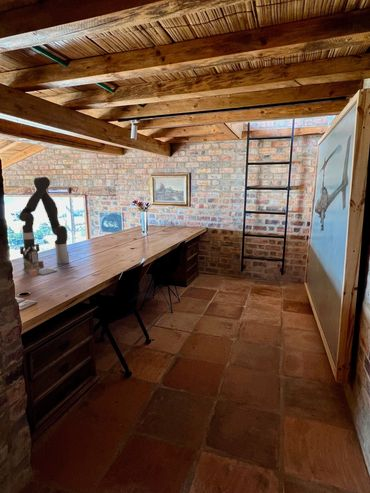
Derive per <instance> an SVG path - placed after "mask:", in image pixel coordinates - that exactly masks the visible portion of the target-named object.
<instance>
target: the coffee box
mask: <svg viewBox="0 0 370 493" xmlns="http://www.w3.org/2000/svg"><path fill="white" fill-rule="evenodd" d="M38 253H39V251H37V250H32V251H28V252H27V253H26V256H27V259H24V257H23V256H22V259H23V263H24V264H23V269H24V268H25V269H24V271H25V272H29V270H33V269H35V270H37V271H39V270H40V268H39V261H38V260H39V254H38Z"/></svg>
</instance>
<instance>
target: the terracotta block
mask: <svg viewBox="0 0 370 493" xmlns="http://www.w3.org/2000/svg"><path fill="white" fill-rule="evenodd" d="M37 271H38V270H35V269H33V270H29V271H28V274H29V276H31V277H34V276H38V275H39V274H38V273H37Z"/></svg>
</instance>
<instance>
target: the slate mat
mask: <svg viewBox="0 0 370 493" xmlns="http://www.w3.org/2000/svg"><path fill="white" fill-rule="evenodd" d="M57 272H58V270H55V269H52V268H44V269H43V268H42V269H39V270H37V273H38V275H40V276H46V275H51V274H53V273H57Z"/></svg>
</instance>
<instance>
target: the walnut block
mask: <svg viewBox="0 0 370 493" xmlns="http://www.w3.org/2000/svg"><path fill="white" fill-rule="evenodd" d="M38 261H39V269H40V268H43V267H44V261H43V260H42V259H41V260H40V259H38Z"/></svg>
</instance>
